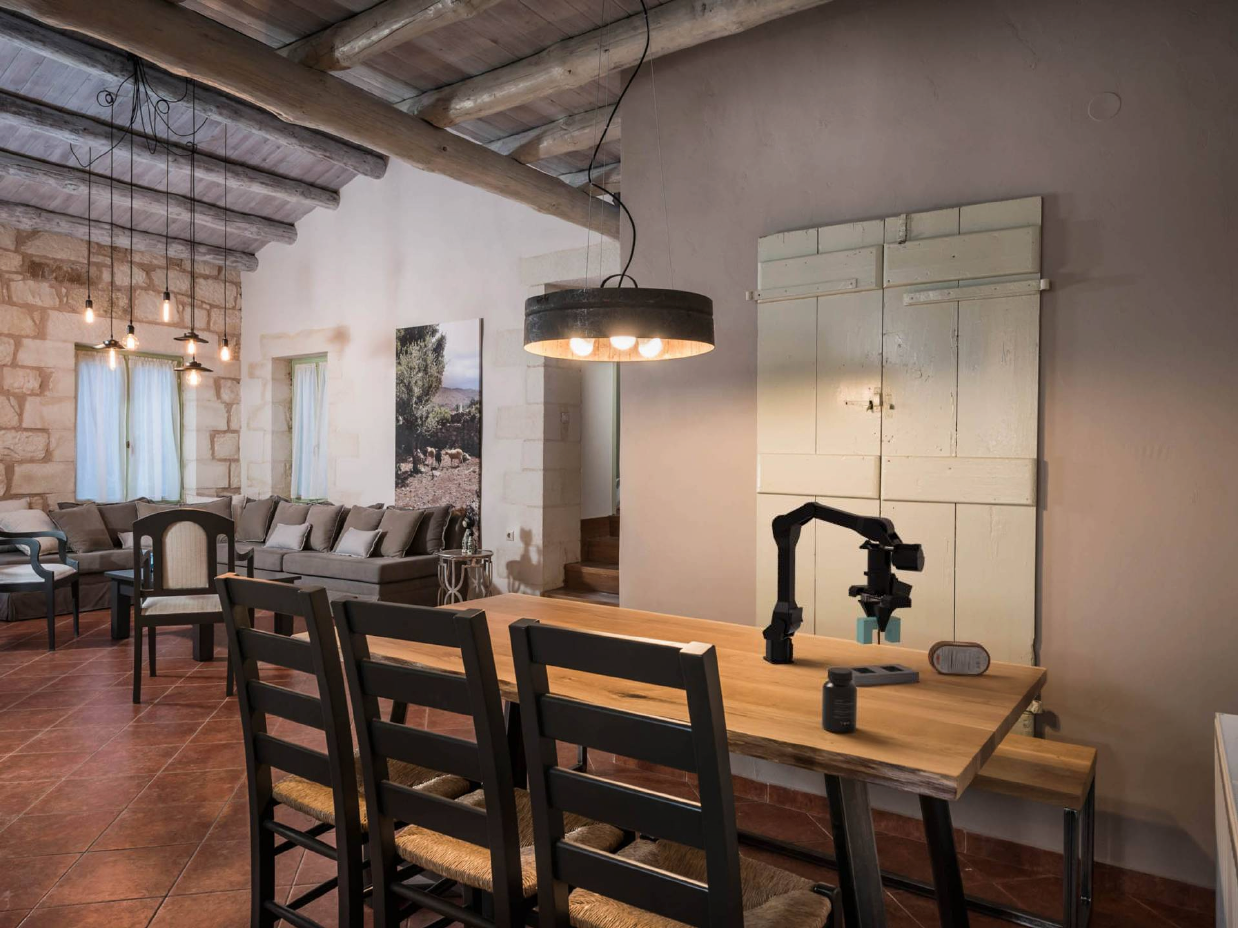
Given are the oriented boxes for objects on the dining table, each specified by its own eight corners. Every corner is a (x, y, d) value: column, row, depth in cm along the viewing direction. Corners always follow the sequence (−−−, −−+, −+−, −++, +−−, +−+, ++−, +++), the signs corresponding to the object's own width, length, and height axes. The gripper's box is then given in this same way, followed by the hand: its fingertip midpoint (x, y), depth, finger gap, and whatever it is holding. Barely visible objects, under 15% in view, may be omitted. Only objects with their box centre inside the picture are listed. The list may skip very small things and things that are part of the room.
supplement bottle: (816, 723, 165) (818, 665, 165) (848, 722, 166) (850, 665, 166) (828, 734, 158) (829, 674, 158) (861, 734, 159) (863, 674, 159)
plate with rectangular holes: (854, 686, 193) (854, 676, 193) (836, 677, 200) (837, 667, 200) (918, 681, 197) (919, 671, 197) (899, 673, 205) (899, 663, 205)
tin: (987, 674, 206) (988, 641, 206) (991, 677, 203) (992, 644, 203) (927, 671, 208) (927, 639, 208) (930, 674, 205) (931, 642, 204)
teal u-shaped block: (863, 644, 196) (863, 620, 196) (856, 641, 199) (856, 617, 199) (900, 642, 199) (900, 618, 199) (893, 639, 202) (893, 615, 202)
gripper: (931, 572, 192) (930, 637, 192) (885, 562, 210) (884, 621, 210) (891, 573, 189) (890, 639, 189) (847, 563, 207) (846, 623, 207)
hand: (878, 630), depth 199 cm, fingers closed on teal u-shaped block, 3 cm apart
